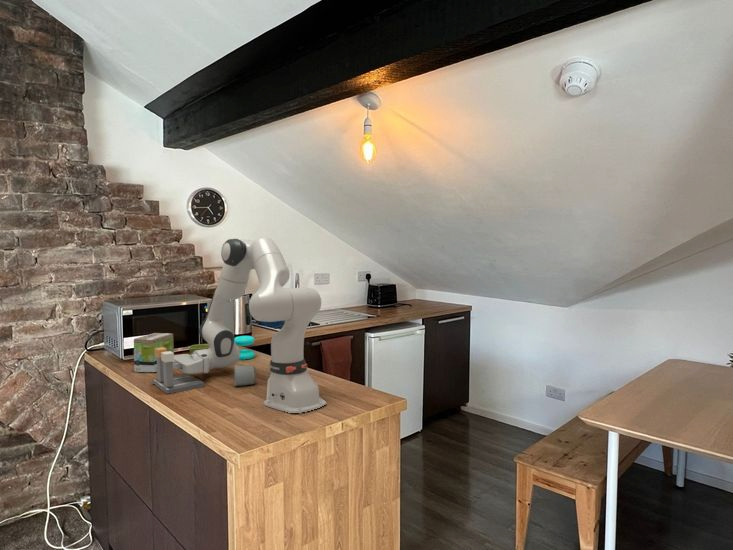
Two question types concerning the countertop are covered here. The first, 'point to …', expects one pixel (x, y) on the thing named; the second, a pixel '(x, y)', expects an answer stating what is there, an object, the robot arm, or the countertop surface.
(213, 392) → the countertop surface
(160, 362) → the orange fader
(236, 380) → the ceramic mug
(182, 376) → the plate
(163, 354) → the white fader
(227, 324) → the cylinder vase
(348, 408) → the countertop surface
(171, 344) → the tea box
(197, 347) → the plant pot
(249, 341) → the donuts
